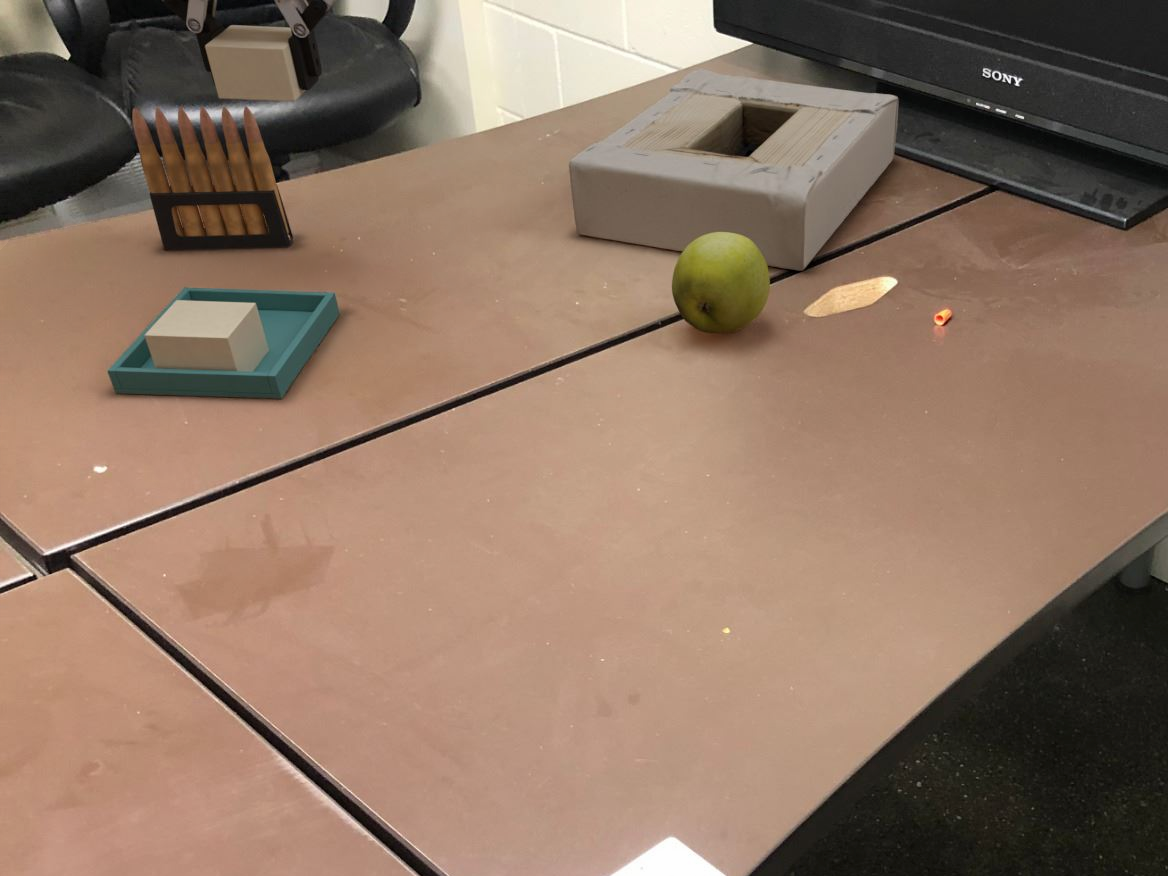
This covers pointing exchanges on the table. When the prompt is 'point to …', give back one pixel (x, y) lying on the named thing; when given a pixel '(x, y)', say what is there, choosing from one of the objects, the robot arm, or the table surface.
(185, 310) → the pad
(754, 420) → the table surface
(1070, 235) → the table surface
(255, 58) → the beige rectangular block
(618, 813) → the table surface
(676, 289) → the apple
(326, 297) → the tray
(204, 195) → the ammunition clip
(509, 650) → the table surface
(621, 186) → the hollow concrete block
